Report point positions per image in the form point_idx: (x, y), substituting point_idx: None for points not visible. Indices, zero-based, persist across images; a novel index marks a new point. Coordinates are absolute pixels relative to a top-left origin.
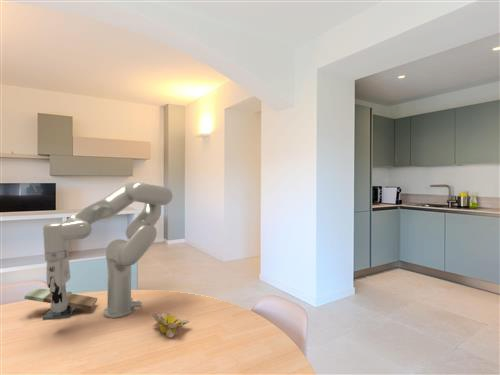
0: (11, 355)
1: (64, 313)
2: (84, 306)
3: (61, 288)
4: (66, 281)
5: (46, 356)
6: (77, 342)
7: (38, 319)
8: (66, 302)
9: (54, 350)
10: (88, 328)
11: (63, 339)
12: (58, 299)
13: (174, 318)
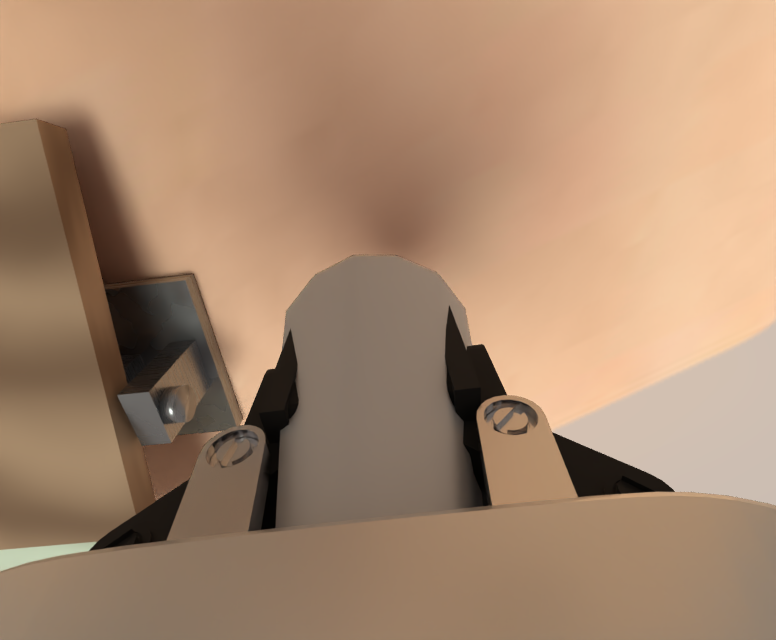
0: (634, 368)
1: (159, 330)
2: (67, 196)
3: (437, 473)
4: (361, 556)
5: (727, 168)
6: (597, 13)
7: None
8: (396, 269)
9: (664, 151)
10: (366, 21)
11: (520, 160)
12: (491, 367)
13: None
